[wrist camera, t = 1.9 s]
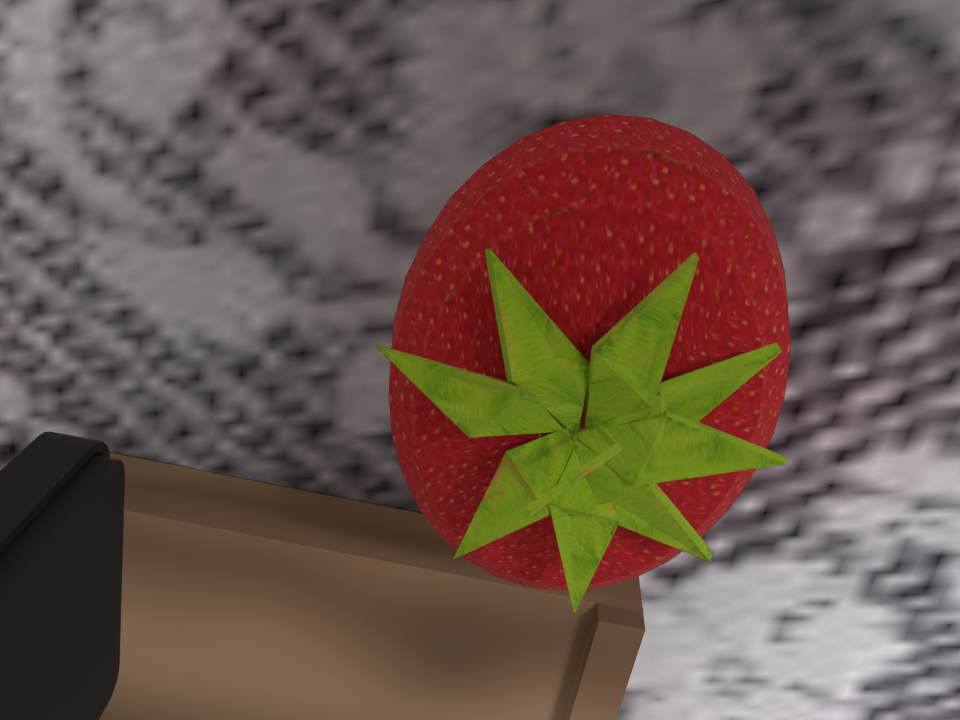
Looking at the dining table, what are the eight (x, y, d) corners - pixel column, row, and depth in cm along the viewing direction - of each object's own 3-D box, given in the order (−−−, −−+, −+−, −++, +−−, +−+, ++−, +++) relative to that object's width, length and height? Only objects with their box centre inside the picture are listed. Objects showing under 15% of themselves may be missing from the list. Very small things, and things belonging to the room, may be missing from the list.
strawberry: (406, 384, 20) (283, 741, 11) (470, 33, 17) (372, 141, 8) (665, 440, 20) (748, 839, 11) (778, 101, 17) (1017, 282, 8)
